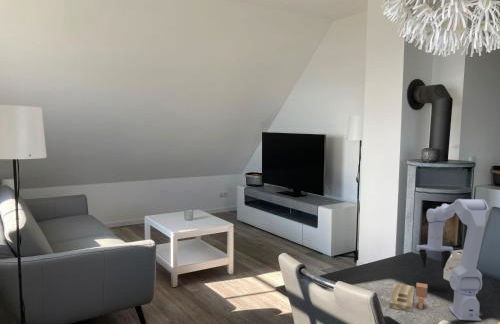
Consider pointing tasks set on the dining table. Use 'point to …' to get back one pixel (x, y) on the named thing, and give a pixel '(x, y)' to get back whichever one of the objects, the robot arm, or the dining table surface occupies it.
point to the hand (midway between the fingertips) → (433, 267)
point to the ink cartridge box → (452, 263)
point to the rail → (402, 297)
